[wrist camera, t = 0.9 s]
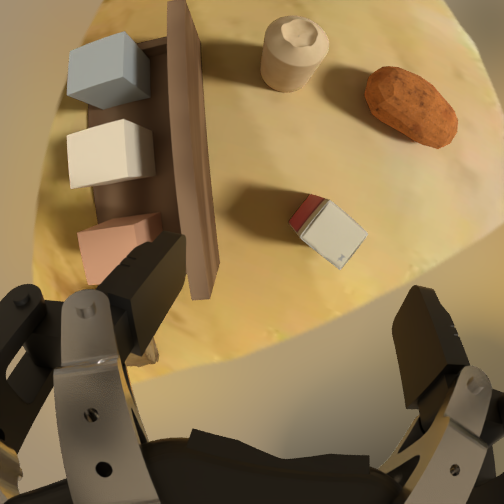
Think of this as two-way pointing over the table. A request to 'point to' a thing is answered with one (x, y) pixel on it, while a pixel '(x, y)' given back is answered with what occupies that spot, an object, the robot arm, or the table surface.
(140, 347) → the robot arm
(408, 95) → the potato
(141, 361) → the rock
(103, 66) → the grey blue block
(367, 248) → the table surface
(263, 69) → the candle
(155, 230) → the key terracotta
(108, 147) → the cream rectangular block
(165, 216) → the tray
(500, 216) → the table surface
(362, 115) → the table surface
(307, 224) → the small box
